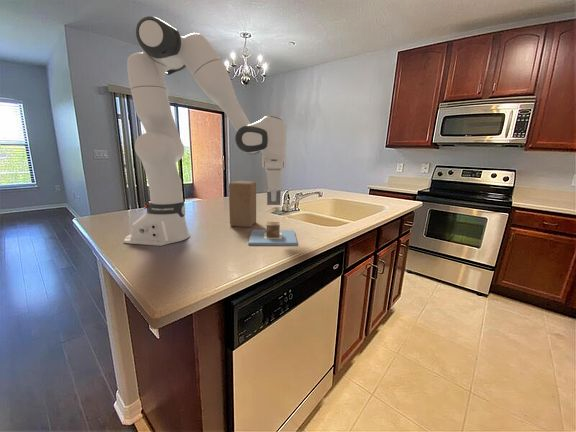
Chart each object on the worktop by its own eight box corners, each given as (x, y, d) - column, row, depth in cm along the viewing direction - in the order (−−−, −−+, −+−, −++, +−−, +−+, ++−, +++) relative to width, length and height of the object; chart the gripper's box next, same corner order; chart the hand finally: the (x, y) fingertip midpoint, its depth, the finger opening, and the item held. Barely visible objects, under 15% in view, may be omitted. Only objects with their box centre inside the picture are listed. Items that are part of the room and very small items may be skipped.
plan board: (248, 245, 93) (248, 242, 93) (252, 232, 109) (251, 229, 108) (297, 245, 94) (297, 242, 94) (293, 232, 110) (293, 229, 109)
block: (249, 228, 114) (249, 183, 109) (229, 226, 116) (227, 182, 111) (256, 222, 124) (256, 181, 119) (237, 220, 126) (236, 180, 121)
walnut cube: (266, 237, 98) (266, 225, 97) (266, 233, 103) (266, 221, 102) (279, 237, 99) (279, 225, 98) (279, 233, 104) (279, 221, 102)
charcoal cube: (267, 204, 95) (267, 191, 94) (267, 202, 100) (267, 189, 99) (280, 205, 96) (280, 191, 95) (280, 202, 101) (280, 189, 99)
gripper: (266, 161, 104) (266, 195, 107) (264, 163, 84) (264, 204, 88) (281, 162, 105) (281, 195, 108) (283, 164, 85) (282, 204, 88)
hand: (273, 199), depth 98 cm, fingers closed on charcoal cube, 5 cm apart
